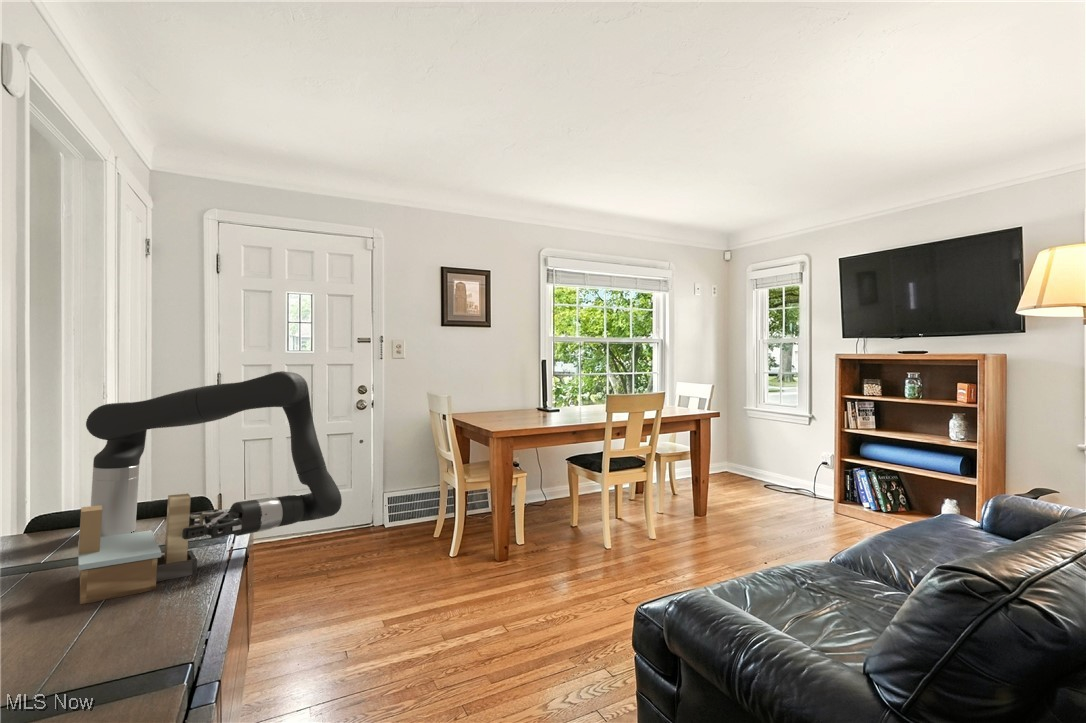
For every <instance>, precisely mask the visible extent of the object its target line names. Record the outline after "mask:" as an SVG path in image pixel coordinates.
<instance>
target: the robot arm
mask: <svg viewBox="0 0 1086 723" xmlns="http://www.w3.org/2000/svg"><path fill="white" fill-rule="evenodd" d="M311 407H312V406H311V399H310V390H309V386H308V381H306V379H305V378H304V377H303V376H302V375H301V374H298V373H296V372H293V371H291V372H290V371H283V370H282V371H274V372H272V373H268V374H265V375H262V376H259V377H256V378H252V379H248V380H243V381H239V382H238V381H237V382H231V383H230V382H229V383H219V384H212V385H204V386H199V387H194V388H187V389H184V390H180V391H175V392H172V393H168V394H164V395H161V396H157V397H153V398H150V399H146V400H140V401H131V402H129V401H128V402H116V403H115V402H113V403H106V404H103V405H100V406H98V407H96V408H94V409H93V410H92V411H91V412H90V414H89V415H88V416H87V418H86V422H85V428H86V429H87V431H88V433H89V434H91V435H92V436H93V437H94V438H97V439H100V440H105V441H106V445H105V446H104V447H103V449H102V450H100V451H99V452H98V453H96V454H95V455H94V457H93V464H92V477H91V478H92V482H91V493H90V494H91V495H90V496H91V497H90V506H99V505H102V521H101V537H105V536H112V535H120V534H127V533H131V532H132V533H134V532H135V531H136V526H137V512H138V511H137V509H138V498H139V496H138V495H139V494H138V493H139V478H140V477H139V475H140V462H141V458H142V455H143V454H144V452H145V449H146V448H145V447H146V440H147V439H146V437H147V432H148V431H147V430H151V429H162V428H163V429H164V428H173V427H174V428H175V427H185V426H186V427H187V426H193V425H199V424H206V423H210V422H215V421H218V420H222V419H225V418H228V417H231V416H232V415H235V414H238V413H240V412H244V411H247V410H248V411H249V410H253V409H262V408H282V410H283V411H284V413H285V415H286V419H287V421H288V425H289V430H290V449H291V452H290V453H291V456H292V457H291V458H292V462H293V465H294V468H295V471H296V475H297V477H298V480H299V482H300V484H302V485H305V486H307V487H308V489H309V490H310V492H309V493H303V494H299V495H295V494H291V495H282V496H276V497H275V496H274V497H263V498H257V499H249V500H242V501H236V502H234V503H232V504H231V507H230V509H229V510H228V512H227V511H225V512H224V510H219V509H216V508H215V509H208V510H203V511H196V512H190V517H189V527H188V528H184V529H183V533H182V538H183V539H185V540H186V539H188V540H191V539H195V538H201V537H204V538H211V539H216V538H222V537H225V536H230V535H233V536H235V537H239V536H244V535H249V534H253V533H259V532H264V531H268V530H269V531H270V530H272V529H274V528H279V527H283V526H289V525H293V524H296V523H299V522H300V523H301V522H307V521H308V522H309V521H315V520H321V519H324V518H329V517H332V516H334V515H337V513H338V512H340V510H341V507H342V505H343V504H342V501H343V500H342V494H341V491H340V488H339V487H338V485H337V484H336V482H335V481H334V479H333V477H332V475H331V474H330V473H329V471H328V469H327V465H326V461H325V458H324V456H323V453H322V450H321V446H320V444H319V439H318V435H317V431H316V428H315V423H314V417H313V413H312V408H311ZM196 519H199V520H196ZM133 531H134V532H133Z"/></svg>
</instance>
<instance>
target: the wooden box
mask: <svg viewBox="0 0 1086 723" xmlns="http://www.w3.org/2000/svg"><path fill="white" fill-rule="evenodd" d="M164 556H165V554H161V557H159V558H153V559H147V560H140V561H134V562H128V563H122V564H116V565H110V566H104V567H98V568H91V569H85V570H79V574H78V576H79V577H78V579H79V581H78V582H79V587H78V588H79V605H85V604H88V603H89V604H90V603H95V602H99V601H104V600H105V601H106V600H110V599H115V598H120V597H124V596H130V595H136V594H140V593H146V592H152V591H156V590H157V589H156V588H157V582H163V581H166V580H173V579H178V578H182V577H183V578H184V577H188V576H189V577H190V576H194V575H197V568H198V559H197V557H196V556H195V554H194V552H193V550H192V549H191V550H187V560H186V561H180V562H174V563H168V564H164Z"/></svg>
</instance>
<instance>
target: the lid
mask: <svg viewBox="0 0 1086 723" xmlns="http://www.w3.org/2000/svg"><path fill="white" fill-rule="evenodd" d="M101 521H102V505H99V506H91V505H90V506H81V508H80V520H79V537H78V539H77V540H78V541H77V557H78V558H77V561H78V562H77V564H78V566H77V568H78V569H77V571H79V572H80V570H85V569H91V568H98V567H104V566H110V565H116V564H122V563H128V562H134V561H140V560H147V559H153V558H159V557H161V555H162V550H161V548H160V544H158V541H157V538H156V537H155V534H154V532H153V530H152V529H151V530H144V531H136V532H135V531H134V532H132V533H127V534H120V535H112V536H105V537H101Z"/></svg>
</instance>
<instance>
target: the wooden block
mask: <svg viewBox="0 0 1086 723" xmlns="http://www.w3.org/2000/svg"><path fill="white" fill-rule="evenodd" d="M191 498H192V497H191V495H190V494H189V493H179V494H170V495H168V496H167V508H166V513H167V514H166V525H165V526H166V527H165V541H164V542H165V545H164V555H165V556H164V564H168V563H174V562H180V561H186V560H187V551H189V550H188V547H189V546H188V545H189V539H186V540H185V539H183V538H182V533H183V529H184V528H188V527H189V517H190V513H191V501H192V500H191Z"/></svg>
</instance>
